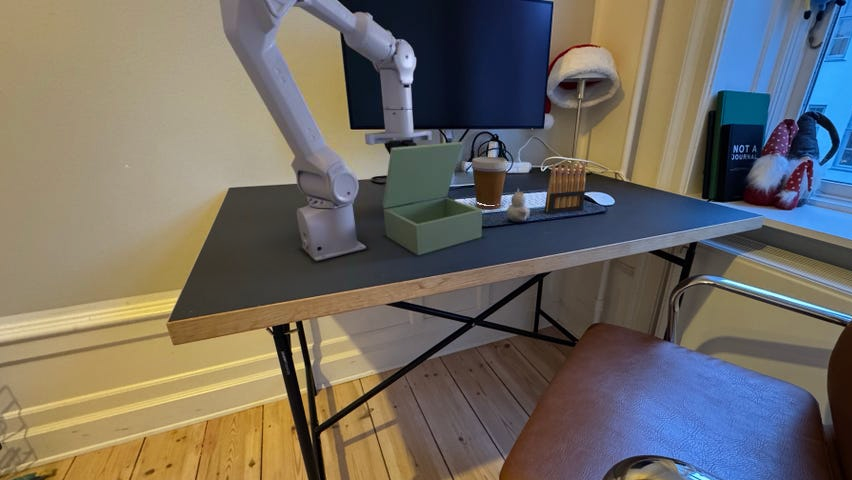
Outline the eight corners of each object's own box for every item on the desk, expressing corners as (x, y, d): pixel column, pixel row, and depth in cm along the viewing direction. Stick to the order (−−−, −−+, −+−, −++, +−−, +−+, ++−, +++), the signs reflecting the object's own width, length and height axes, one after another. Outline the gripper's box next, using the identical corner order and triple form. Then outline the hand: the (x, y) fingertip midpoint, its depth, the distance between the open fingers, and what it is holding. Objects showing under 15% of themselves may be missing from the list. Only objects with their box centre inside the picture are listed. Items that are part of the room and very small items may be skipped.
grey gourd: (521, 216, 90) (524, 184, 87) (534, 225, 85) (537, 190, 81) (501, 218, 88) (503, 185, 85) (513, 227, 83) (515, 192, 79)
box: (481, 237, 77) (482, 210, 75) (418, 255, 68) (416, 226, 66) (446, 221, 86) (446, 197, 83) (386, 236, 77) (383, 209, 74)
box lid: (462, 143, 74) (461, 141, 74) (392, 149, 64) (391, 147, 65) (447, 196, 83) (445, 194, 83) (383, 208, 74) (382, 206, 74)
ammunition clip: (547, 213, 93) (552, 165, 87) (544, 211, 94) (548, 163, 89) (583, 209, 96) (590, 163, 91) (578, 207, 98) (585, 161, 92)
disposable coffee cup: (506, 211, 93) (509, 163, 88) (469, 210, 94) (469, 162, 88) (505, 201, 102) (507, 157, 97) (471, 200, 102) (471, 156, 97)
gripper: (418, 107, 81) (421, 170, 87) (355, 108, 73) (363, 177, 79) (436, 109, 76) (438, 175, 82) (371, 110, 68) (378, 184, 74)
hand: (402, 176), depth 80 cm, fingers closed
